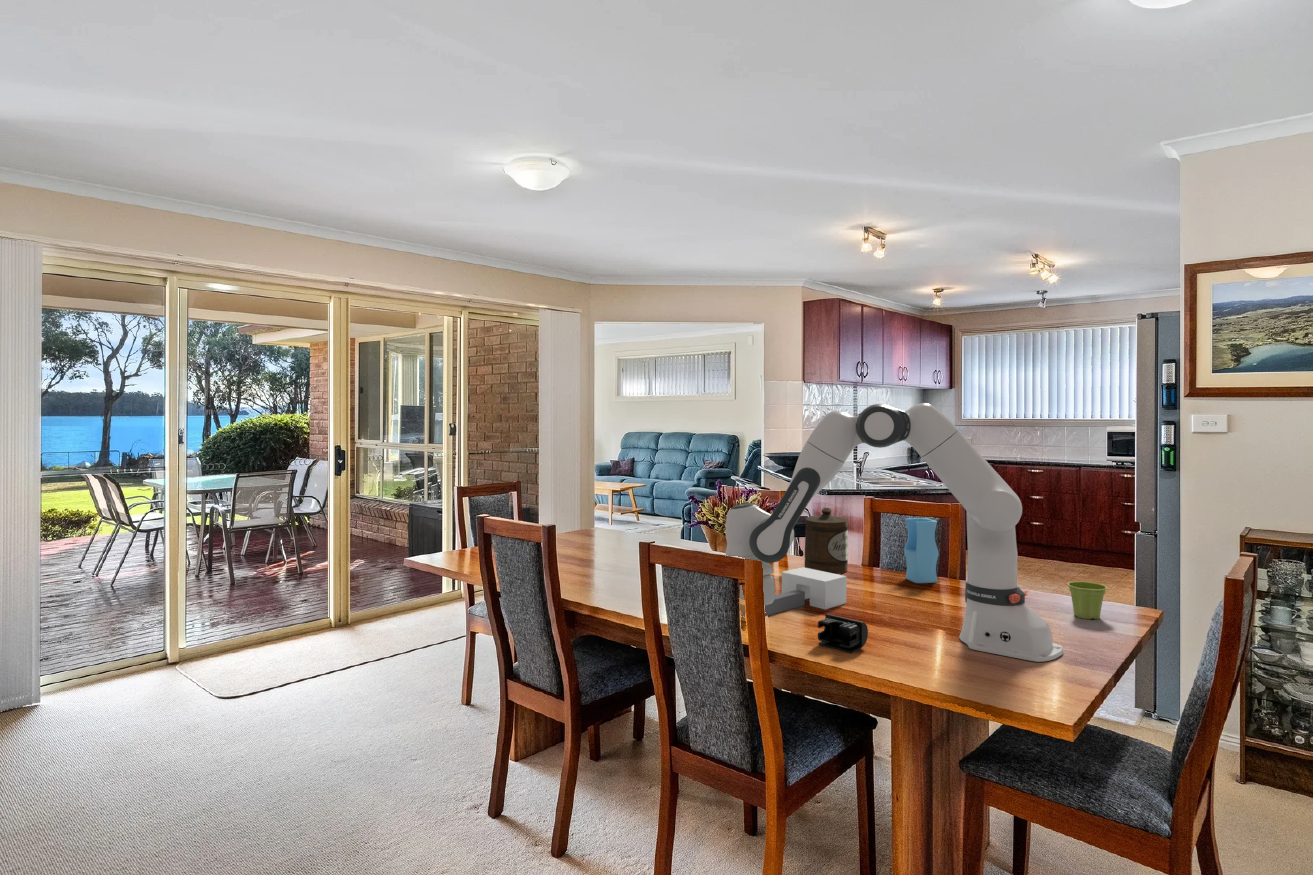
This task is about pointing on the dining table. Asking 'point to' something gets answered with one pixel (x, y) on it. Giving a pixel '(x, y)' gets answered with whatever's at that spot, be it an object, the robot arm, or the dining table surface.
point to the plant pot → (1087, 599)
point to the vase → (921, 550)
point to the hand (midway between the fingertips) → (741, 614)
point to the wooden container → (826, 543)
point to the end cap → (842, 633)
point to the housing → (816, 586)
